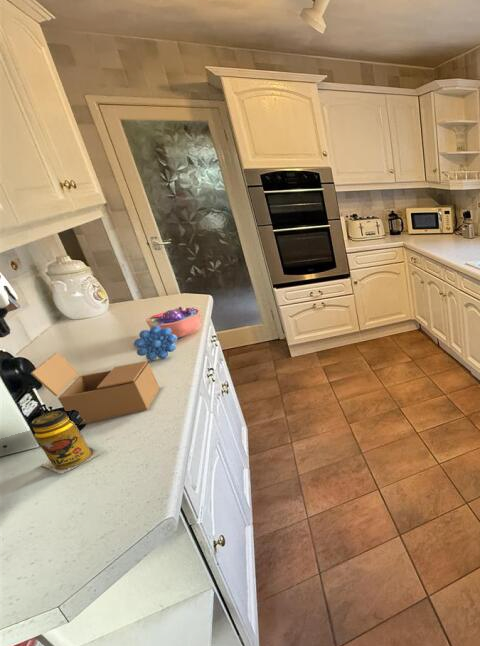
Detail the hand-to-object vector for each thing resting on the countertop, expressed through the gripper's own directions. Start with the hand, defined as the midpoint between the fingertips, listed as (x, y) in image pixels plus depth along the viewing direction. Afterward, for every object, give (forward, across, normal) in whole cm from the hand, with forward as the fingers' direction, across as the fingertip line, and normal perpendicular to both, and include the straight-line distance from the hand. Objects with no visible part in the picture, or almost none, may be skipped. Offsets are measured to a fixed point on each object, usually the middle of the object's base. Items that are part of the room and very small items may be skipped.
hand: (2, 335), depth 95 cm
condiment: (+25, -12, +24) cm, 37 cm away
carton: (+25, -14, 0) cm, 28 cm away
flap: (+12, -5, 0) cm, 13 cm away
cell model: (+25, -18, -55) cm, 63 cm away
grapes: (+25, -17, -33) cm, 44 cm away
